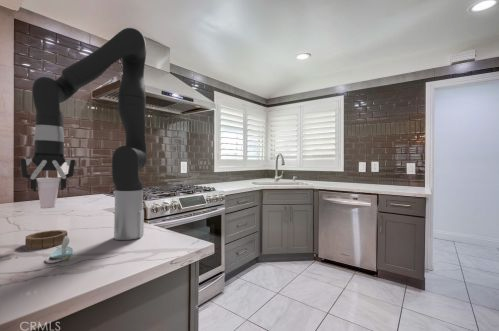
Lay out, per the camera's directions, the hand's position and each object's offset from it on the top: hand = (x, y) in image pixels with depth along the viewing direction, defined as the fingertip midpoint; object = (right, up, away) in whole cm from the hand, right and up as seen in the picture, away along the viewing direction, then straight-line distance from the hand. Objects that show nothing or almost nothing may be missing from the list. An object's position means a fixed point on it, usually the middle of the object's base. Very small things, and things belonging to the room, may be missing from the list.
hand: (48, 190), depth 78 cm
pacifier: (+14, -18, -13) cm, 26 cm away
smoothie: (0, -6, 0) cm, 6 cm away
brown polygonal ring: (0, -18, 0) cm, 18 cm away
